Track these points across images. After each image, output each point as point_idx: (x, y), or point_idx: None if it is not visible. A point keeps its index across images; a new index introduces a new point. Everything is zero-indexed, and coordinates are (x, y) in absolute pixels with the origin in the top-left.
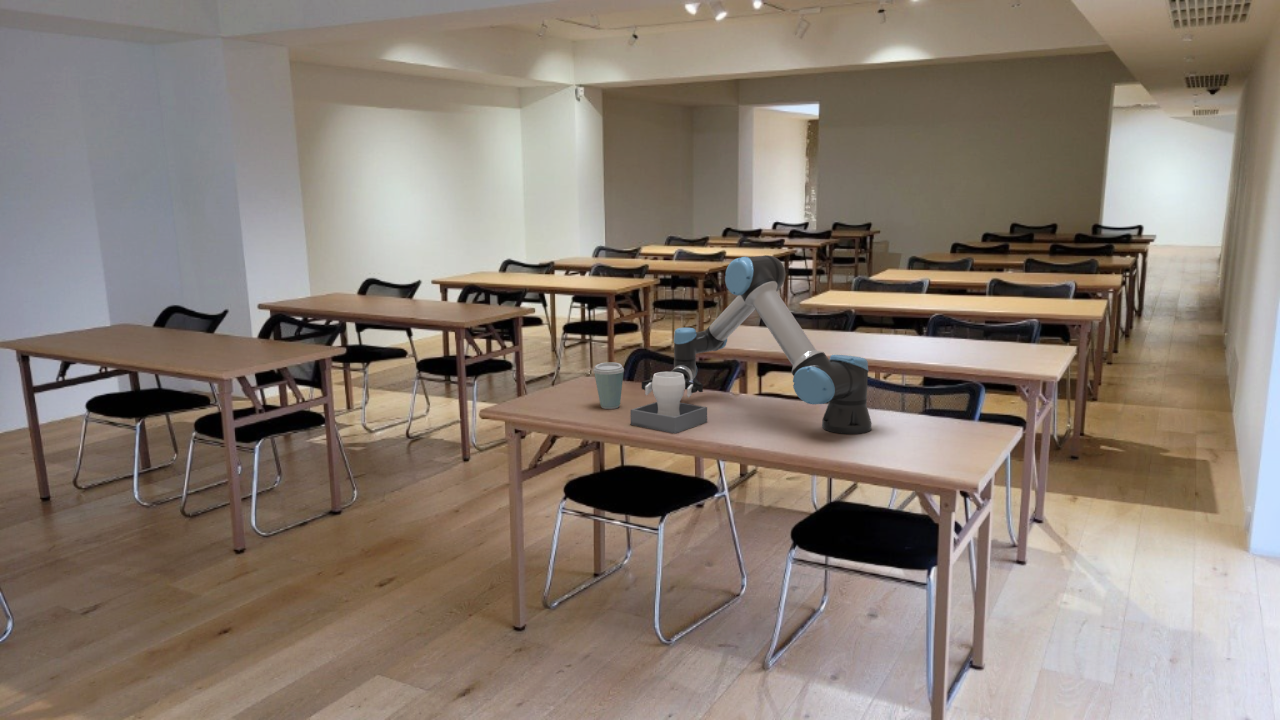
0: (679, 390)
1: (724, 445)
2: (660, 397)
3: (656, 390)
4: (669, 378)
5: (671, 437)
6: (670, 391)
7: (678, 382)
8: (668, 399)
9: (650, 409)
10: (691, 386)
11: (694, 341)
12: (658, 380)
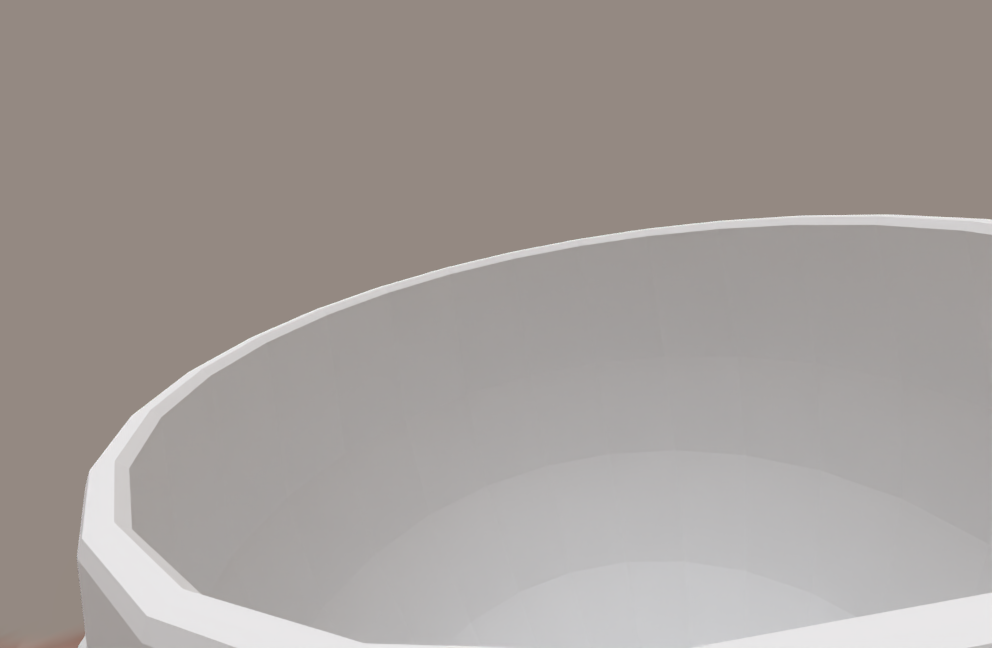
0: (326, 576)
1: (56, 644)
2: (644, 551)
3: (691, 439)
4: (440, 287)
5: None
6: (460, 483)
7: (303, 427)
8: (529, 608)
9: None
10: None
11: None
12: (642, 290)
